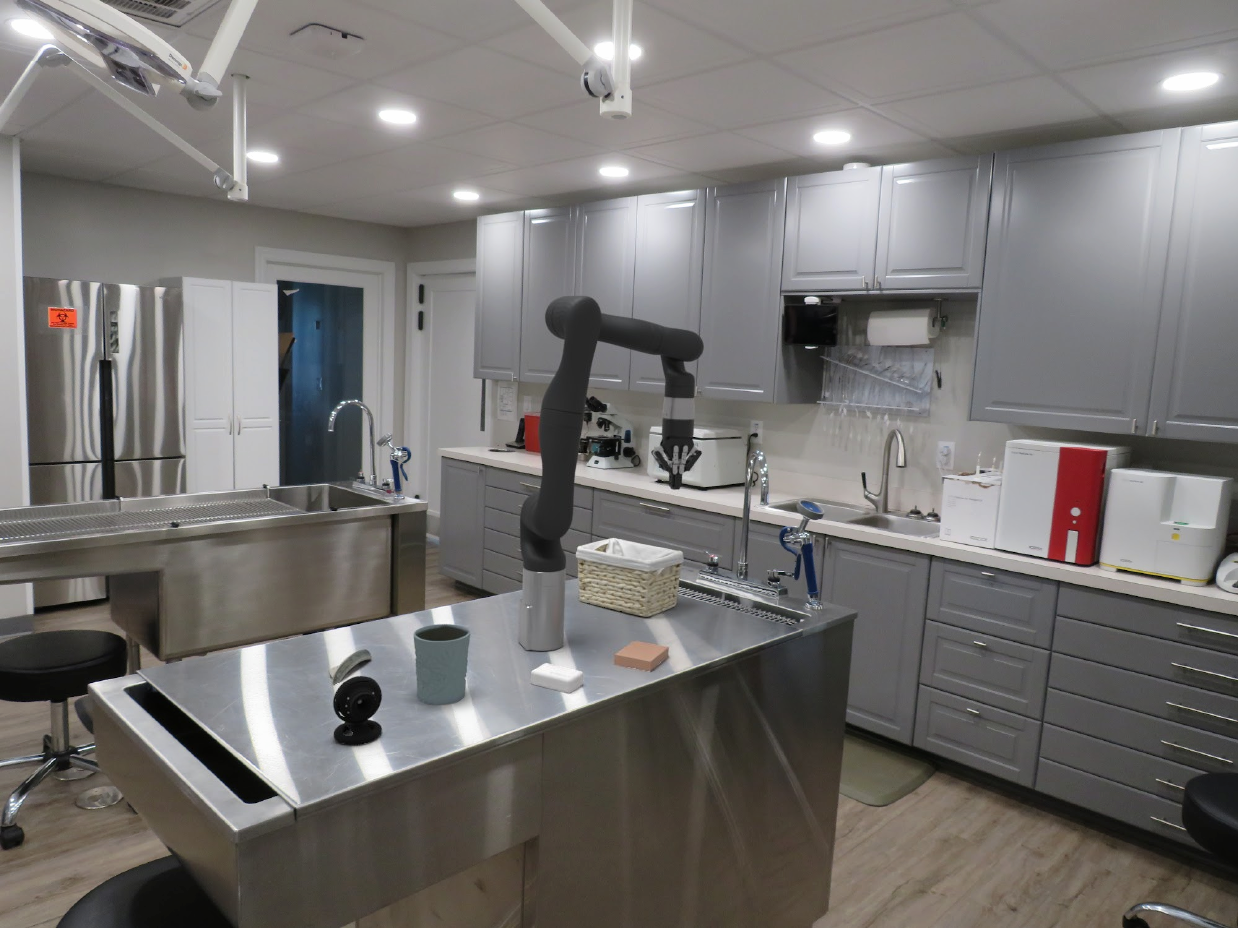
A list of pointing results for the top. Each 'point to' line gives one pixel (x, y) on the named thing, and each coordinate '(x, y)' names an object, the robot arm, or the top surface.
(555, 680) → the soap
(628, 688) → the top surface
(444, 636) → the green ceramic cup
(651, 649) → the terracotta tile
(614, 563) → the storage basket
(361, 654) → the ceramic fragment
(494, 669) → the top surface
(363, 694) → the webcam
